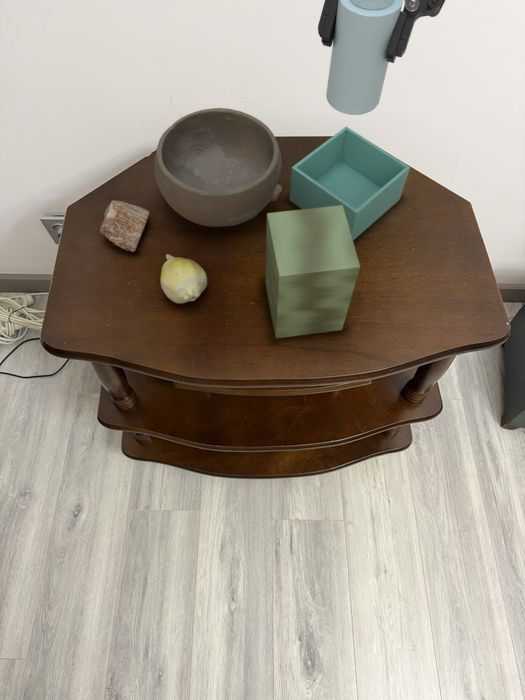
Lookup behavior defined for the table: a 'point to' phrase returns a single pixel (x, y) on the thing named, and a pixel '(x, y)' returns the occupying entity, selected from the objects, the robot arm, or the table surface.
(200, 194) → the bowl
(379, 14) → the bottle
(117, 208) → the stone
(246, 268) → the table surface
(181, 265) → the fruit
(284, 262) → the stand
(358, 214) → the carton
